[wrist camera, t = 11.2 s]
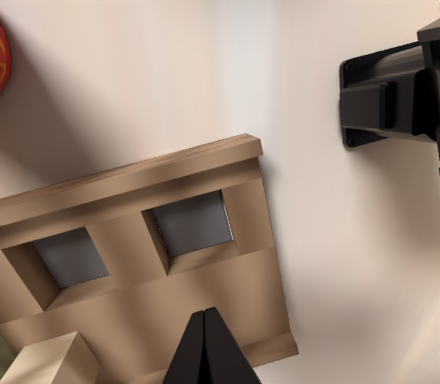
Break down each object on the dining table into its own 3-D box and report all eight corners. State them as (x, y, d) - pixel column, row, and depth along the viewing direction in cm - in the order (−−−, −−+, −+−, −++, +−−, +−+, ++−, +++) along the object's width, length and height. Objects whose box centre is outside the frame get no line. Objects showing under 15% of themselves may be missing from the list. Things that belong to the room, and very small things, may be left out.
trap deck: (245, 133, 18) (268, 142, 13) (282, 317, 25) (306, 371, 20) (-64, 215, 17) (-172, 260, 12) (63, 382, 24) (29, 455, 19)
